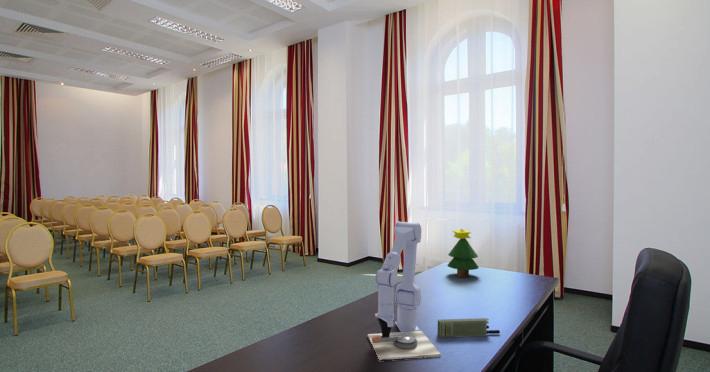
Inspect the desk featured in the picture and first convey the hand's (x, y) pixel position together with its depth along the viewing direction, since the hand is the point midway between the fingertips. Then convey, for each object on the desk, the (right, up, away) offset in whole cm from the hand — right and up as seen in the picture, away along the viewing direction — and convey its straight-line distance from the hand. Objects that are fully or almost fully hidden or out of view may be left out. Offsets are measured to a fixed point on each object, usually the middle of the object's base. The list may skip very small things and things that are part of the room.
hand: (385, 338), depth 139 cm
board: (+6, -3, +1) cm, 7 cm away
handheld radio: (+34, -3, +11) cm, 36 cm away
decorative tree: (+57, -1, +100) cm, 115 cm away
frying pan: (+3, 0, -1) cm, 3 cm away
